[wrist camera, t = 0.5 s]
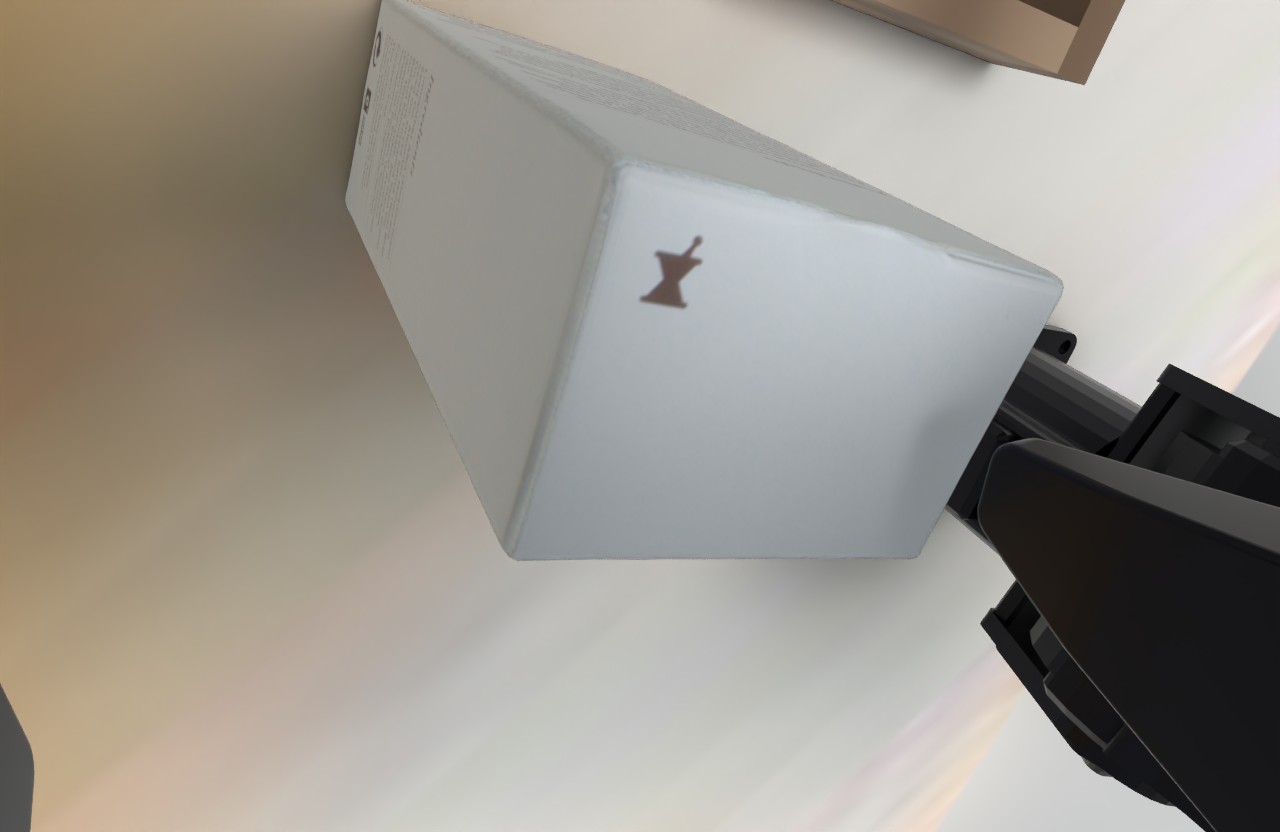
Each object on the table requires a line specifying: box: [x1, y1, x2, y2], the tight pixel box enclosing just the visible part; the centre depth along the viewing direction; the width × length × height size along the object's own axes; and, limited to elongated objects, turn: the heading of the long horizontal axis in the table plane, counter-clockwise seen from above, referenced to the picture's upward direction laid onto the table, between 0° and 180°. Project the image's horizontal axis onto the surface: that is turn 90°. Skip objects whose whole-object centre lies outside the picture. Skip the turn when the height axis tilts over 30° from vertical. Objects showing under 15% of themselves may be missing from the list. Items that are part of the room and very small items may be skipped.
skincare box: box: [345, 0, 1064, 561], centre depth 14 cm, size 6×4×12 cm
